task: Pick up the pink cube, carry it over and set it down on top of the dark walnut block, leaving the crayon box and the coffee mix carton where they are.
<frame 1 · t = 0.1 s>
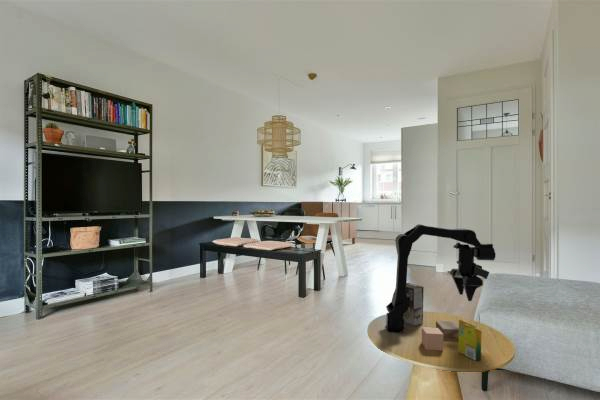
hand: (465, 297, 139), 15 cm above the table, tool pointing down, fingers open, 9 cm apart
coffee box: (410, 321, 152), on the table
pink cube: (432, 346, 126), on the table
walnut block: (450, 335, 138), on the table
crayon box: (469, 356, 119), on the table
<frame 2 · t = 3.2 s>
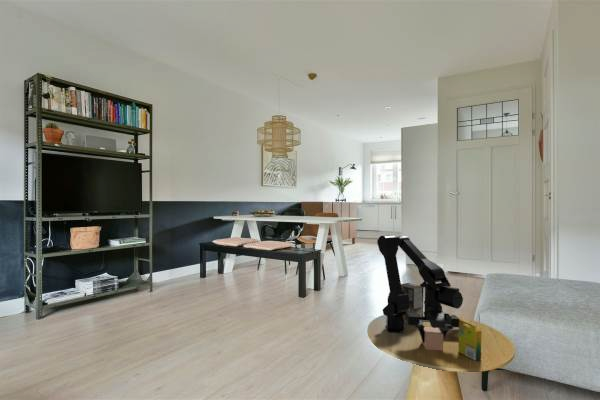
hand: (432, 342, 126), 1 cm above the table, tool pointing down, fingers closed on pink cube, 6 cm apart
pink cube: (432, 346, 126), on the table, touching gripper
everything else where it was.
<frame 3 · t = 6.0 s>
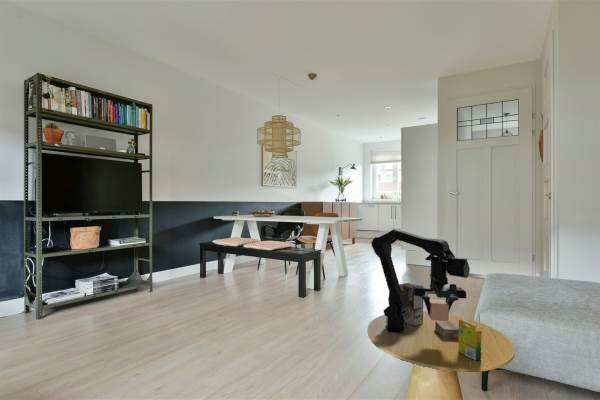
hand: (437, 314, 129), 11 cm above the table, tool pointing down, fingers closed on pink cube, 6 cm apart
pink cube: (437, 317, 129), point 10 cm above the table, touching gripper
everything else where it was.
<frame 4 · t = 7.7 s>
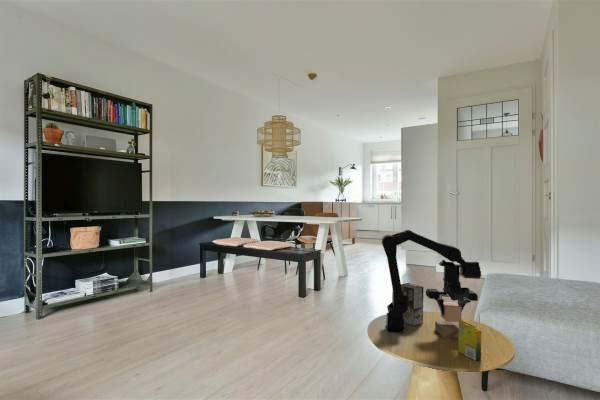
hand: (450, 315, 138), 8 cm above the table, tool pointing down, fingers closed on pink cube, 6 cm apart
pink cube: (450, 319, 138), point 6 cm above the table, touching gripper
everything else where it was.
when the fingers open (6 cm above the table, at t = 8.9 s): pink cube drops 1 cm, resting on walnut block.
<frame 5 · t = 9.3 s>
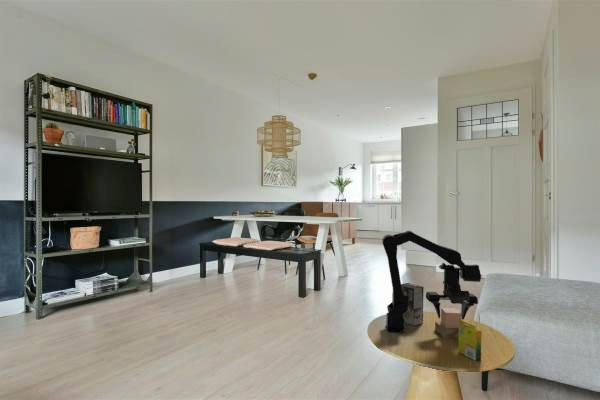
hand: (450, 318, 138), 6 cm above the table, tool pointing down, fingers open, 9 cm apart
pink cube: (450, 325, 138), point 4 cm above the table, touching walnut block
walnut block: (450, 335, 138), on the table, touching pink cube
everything else where it was.
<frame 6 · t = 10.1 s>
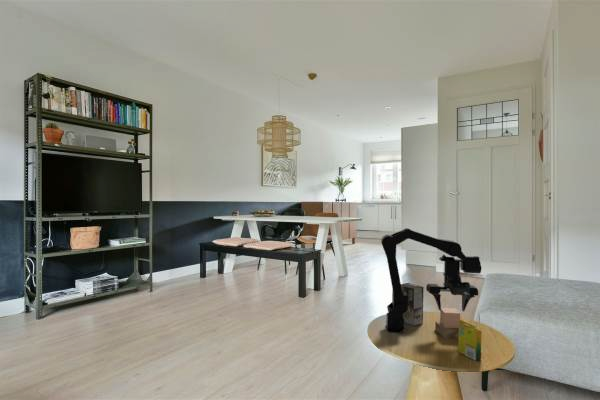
hand: (451, 310, 138), 10 cm above the table, tool pointing down, fingers open, 9 cm apart
nothing on the table moved.
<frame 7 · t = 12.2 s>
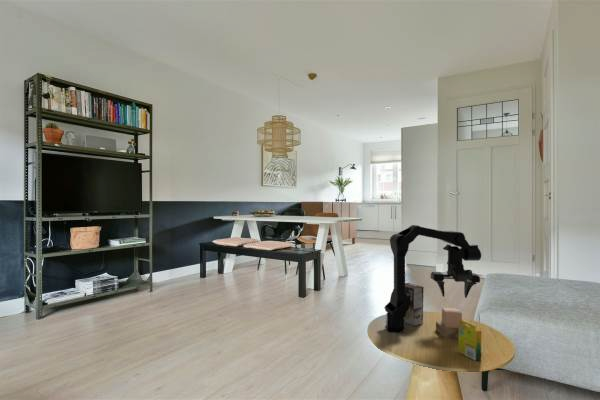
hand: (454, 297, 145), 13 cm above the table, tool pointing down, fingers open, 9 cm apart
nothing on the table moved.
at the end: pink cube 0.4 cm off-centre on the walnut block, point 4.0 cm above the walnut block's base; pink cube tilted 0°; the gripper is holding nothing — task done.
